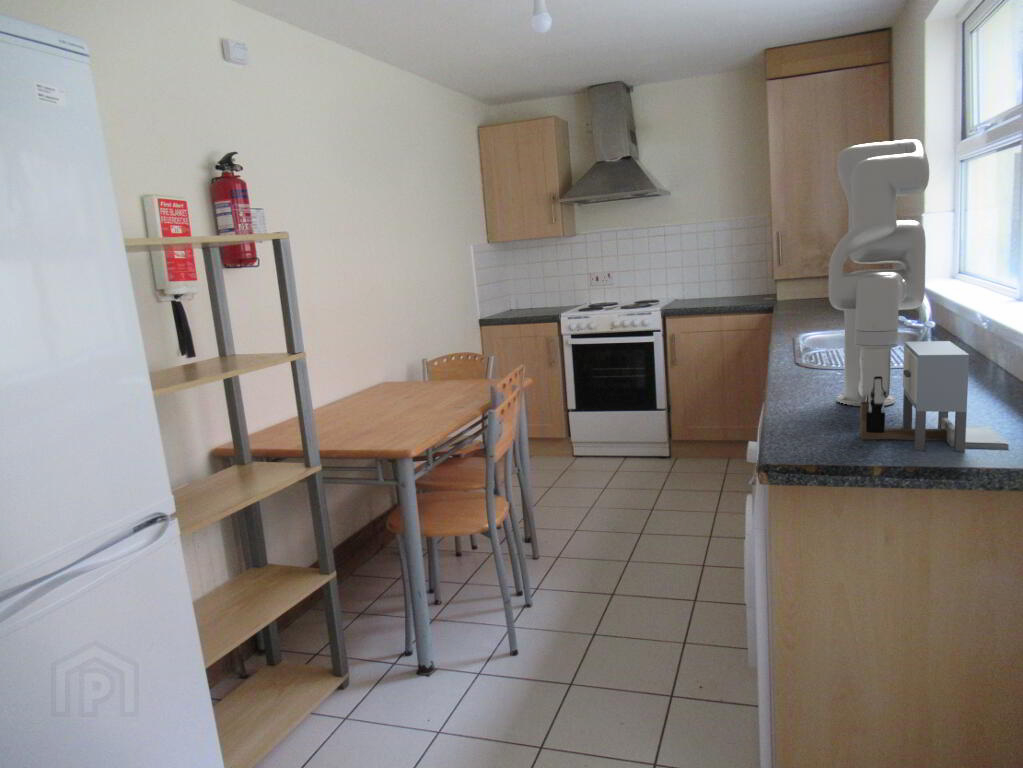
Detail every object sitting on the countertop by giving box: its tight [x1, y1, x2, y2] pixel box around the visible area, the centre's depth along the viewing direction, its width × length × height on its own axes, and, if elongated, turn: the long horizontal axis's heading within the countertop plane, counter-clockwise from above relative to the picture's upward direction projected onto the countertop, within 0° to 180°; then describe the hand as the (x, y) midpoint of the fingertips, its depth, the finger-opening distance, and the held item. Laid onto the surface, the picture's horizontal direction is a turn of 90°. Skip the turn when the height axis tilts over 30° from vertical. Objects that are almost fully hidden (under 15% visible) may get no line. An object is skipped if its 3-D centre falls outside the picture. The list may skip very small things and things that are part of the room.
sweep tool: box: [859, 402, 955, 447], centre depth 147 cm, size 10×16×7 cm, turn 70°
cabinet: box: [902, 340, 970, 453], centre depth 145 cm, size 18×9×18 cm, turn 160°
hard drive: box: [965, 426, 1010, 450], centre depth 144 cm, size 2×8×12 cm
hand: (874, 429), depth 149 cm, fingers closed on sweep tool, 3 cm apart
